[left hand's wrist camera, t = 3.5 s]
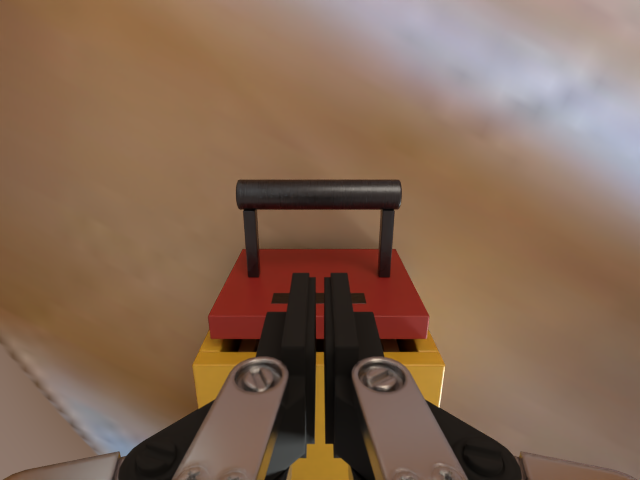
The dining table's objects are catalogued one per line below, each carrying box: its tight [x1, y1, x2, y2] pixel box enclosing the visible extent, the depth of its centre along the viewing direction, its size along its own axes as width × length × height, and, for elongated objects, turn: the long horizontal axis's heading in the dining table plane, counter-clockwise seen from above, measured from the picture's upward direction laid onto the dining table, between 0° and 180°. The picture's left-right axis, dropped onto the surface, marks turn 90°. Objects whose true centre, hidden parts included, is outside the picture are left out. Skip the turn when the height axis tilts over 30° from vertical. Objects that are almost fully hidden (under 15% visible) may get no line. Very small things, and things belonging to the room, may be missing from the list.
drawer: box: [208, 180, 429, 352], centre depth 23 cm, size 24×10×8 cm, turn 0°
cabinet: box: [192, 329, 445, 480], centre depth 24 cm, size 20×11×10 cm, turn 0°
